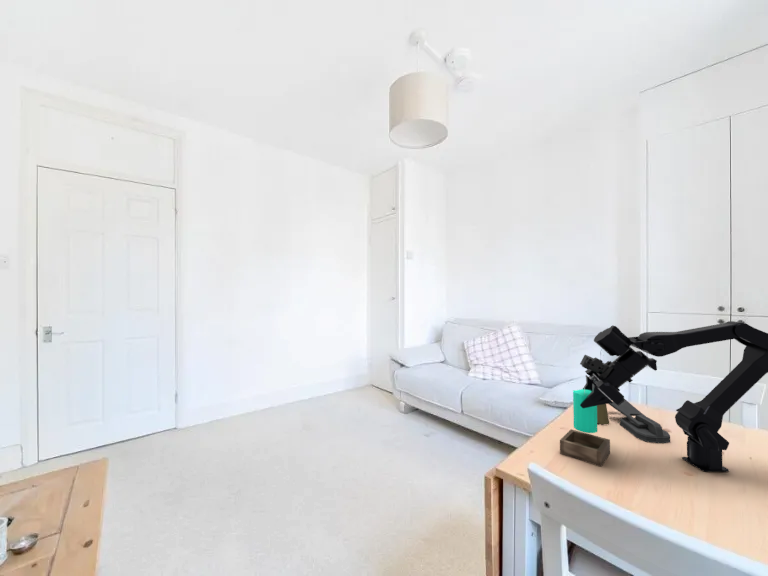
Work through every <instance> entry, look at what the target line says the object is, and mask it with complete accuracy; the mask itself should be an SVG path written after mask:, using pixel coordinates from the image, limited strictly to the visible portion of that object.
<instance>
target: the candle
mask: <svg viewBox="0 0 768 576" xmlns="http://www.w3.org/2000/svg"><path fill="white" fill-rule="evenodd" d="M583 388H584V389H583ZM583 388H580V389H577V390H572V397H573V399H572V404H573V408H572V410H573V412H572V413H573V429H574V430H576V431H579V432H583V433H587V434H595V433H598V424H597V406H592V407H587V408H582V407H581V406H580V404H581V403H582V402H583V401H584V400H585V398H586V397H587V396H588V395H589V394H590V393H591V392H592V391H590V390H585V387H583Z"/></svg>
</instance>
